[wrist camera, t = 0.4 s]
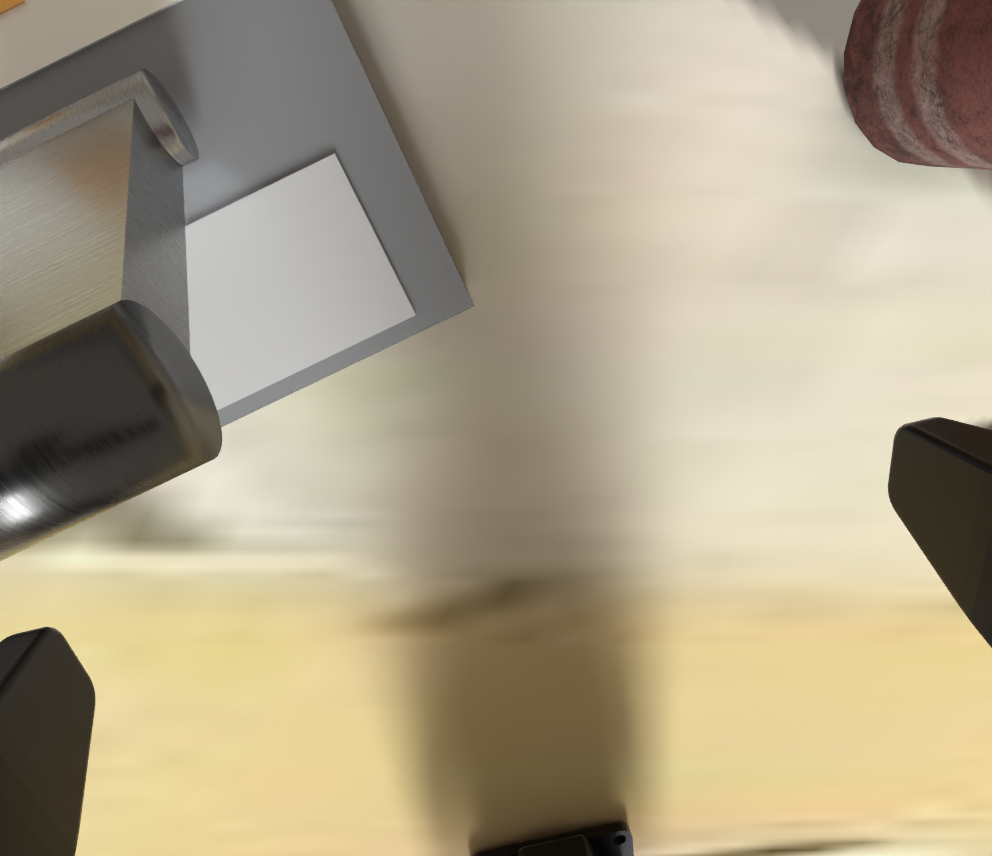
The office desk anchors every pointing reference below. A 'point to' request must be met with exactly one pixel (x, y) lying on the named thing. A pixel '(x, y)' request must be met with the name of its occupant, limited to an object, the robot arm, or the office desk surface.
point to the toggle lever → (96, 312)
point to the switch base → (258, 179)
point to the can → (923, 80)
